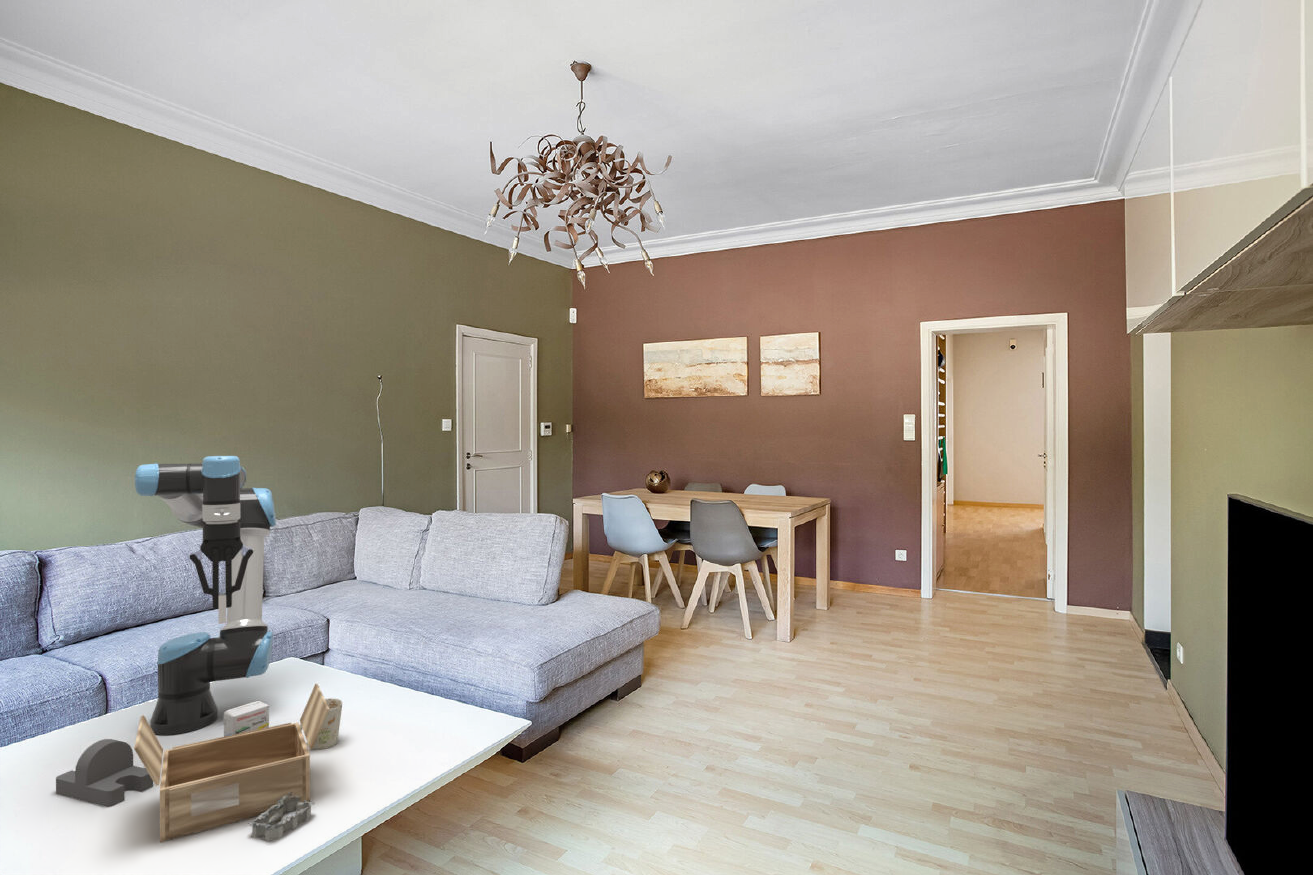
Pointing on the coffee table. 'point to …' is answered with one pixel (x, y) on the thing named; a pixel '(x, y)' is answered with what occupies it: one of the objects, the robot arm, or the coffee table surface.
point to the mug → (329, 725)
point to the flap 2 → (314, 716)
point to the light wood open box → (231, 778)
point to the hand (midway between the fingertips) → (222, 621)
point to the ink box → (246, 718)
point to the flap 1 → (149, 750)
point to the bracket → (104, 775)
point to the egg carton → (272, 818)
